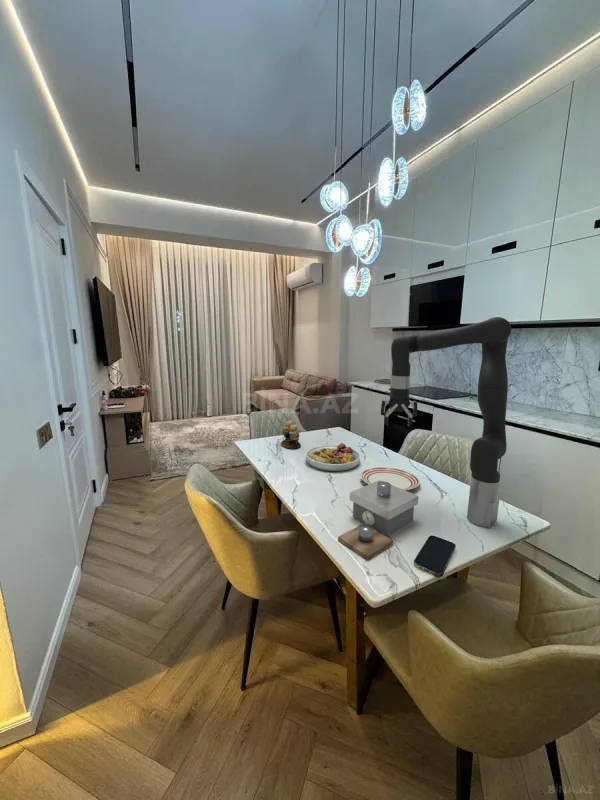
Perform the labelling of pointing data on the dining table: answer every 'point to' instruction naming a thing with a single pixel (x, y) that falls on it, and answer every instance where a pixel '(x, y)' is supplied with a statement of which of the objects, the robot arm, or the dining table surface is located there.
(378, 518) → the scale
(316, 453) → the bowl
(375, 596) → the dining table surface
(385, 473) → the dinner plate
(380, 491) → the cylinder
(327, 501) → the dining table surface
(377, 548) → the walnut board
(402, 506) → the pan
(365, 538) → the cylinder
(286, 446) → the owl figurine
